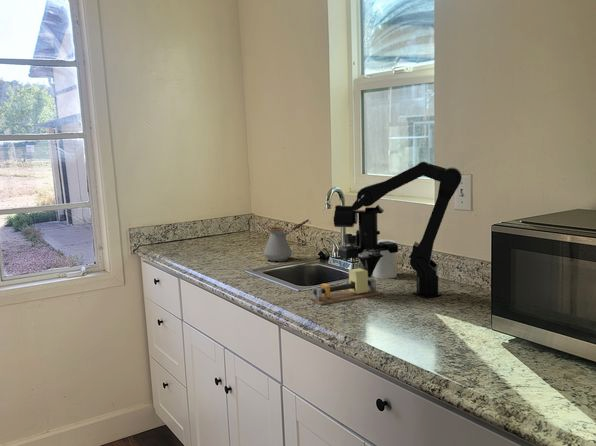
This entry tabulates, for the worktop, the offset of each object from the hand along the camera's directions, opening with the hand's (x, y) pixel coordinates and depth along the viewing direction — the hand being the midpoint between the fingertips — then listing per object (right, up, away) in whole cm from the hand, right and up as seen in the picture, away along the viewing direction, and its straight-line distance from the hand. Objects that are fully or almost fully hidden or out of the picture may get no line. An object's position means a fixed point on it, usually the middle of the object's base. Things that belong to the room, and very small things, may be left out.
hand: (368, 276), depth 178 cm
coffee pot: (-26, +2, +57) cm, 62 cm away
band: (-14, -5, -6) cm, 16 cm away
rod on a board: (-8, -6, -3) cm, 10 cm away
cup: (+8, -2, +21) cm, 23 cm away
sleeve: (-3, -5, -1) cm, 6 cm away
